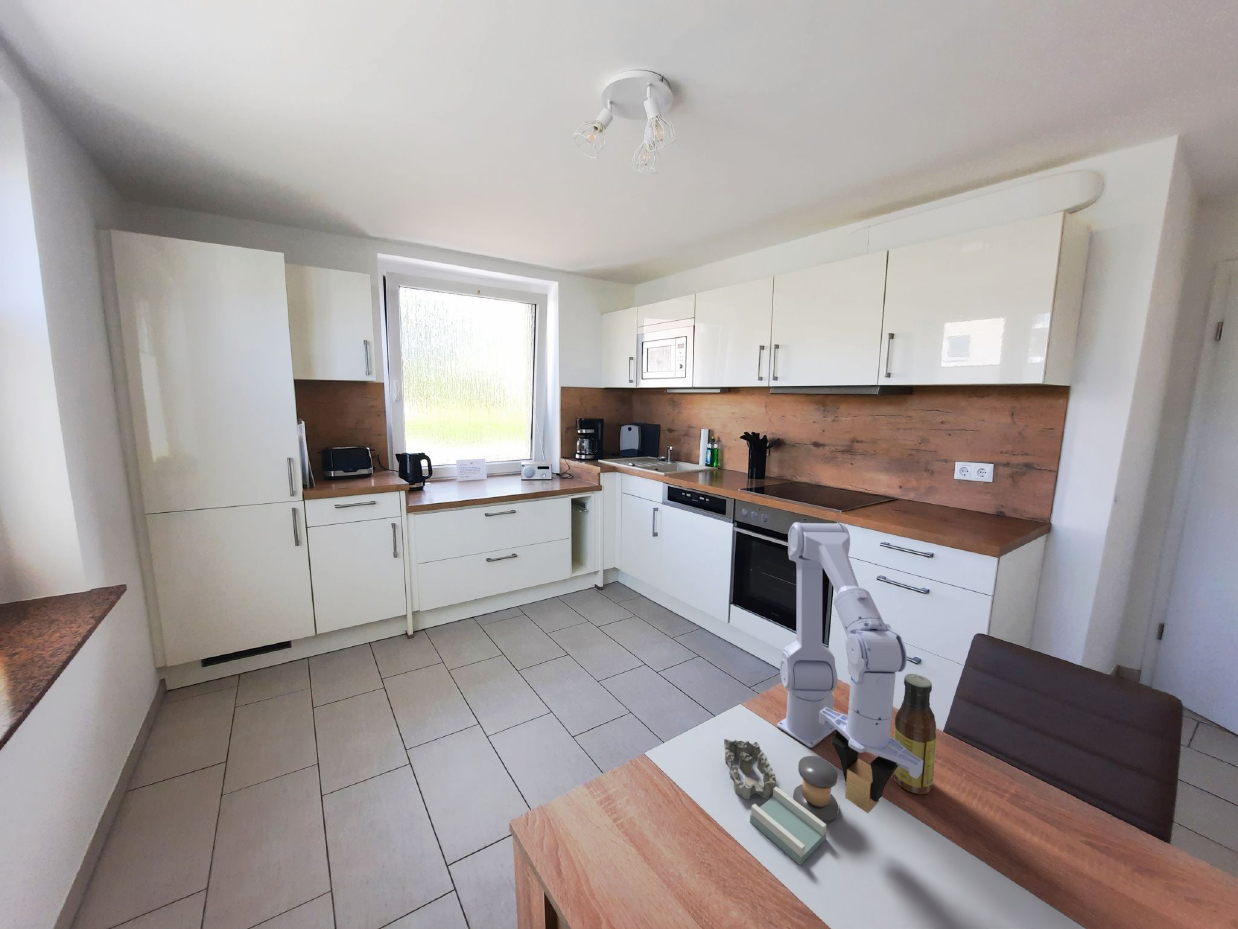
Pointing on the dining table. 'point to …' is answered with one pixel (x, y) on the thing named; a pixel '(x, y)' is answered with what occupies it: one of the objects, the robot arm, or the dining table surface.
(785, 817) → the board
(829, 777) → the spool
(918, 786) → the sauce bottle
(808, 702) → the robot arm
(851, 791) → the wooden block
